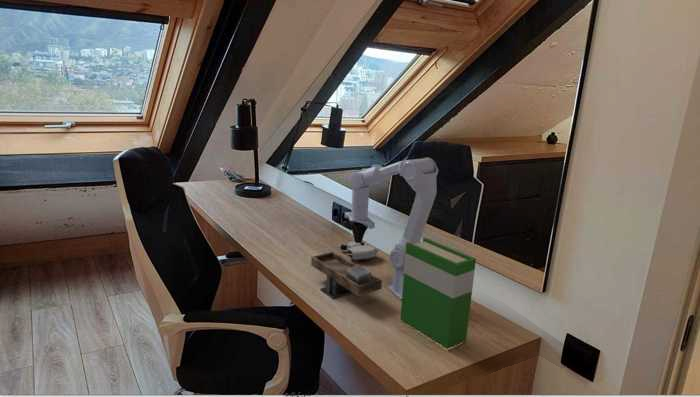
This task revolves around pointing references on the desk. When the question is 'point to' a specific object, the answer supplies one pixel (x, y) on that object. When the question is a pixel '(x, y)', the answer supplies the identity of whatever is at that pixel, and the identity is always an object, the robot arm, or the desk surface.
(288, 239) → the desk surface
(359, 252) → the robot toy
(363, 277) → the block
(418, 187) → the robot arm
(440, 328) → the hardback book
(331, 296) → the pivot stand
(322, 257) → the wooden rimmed tray
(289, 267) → the desk surface
